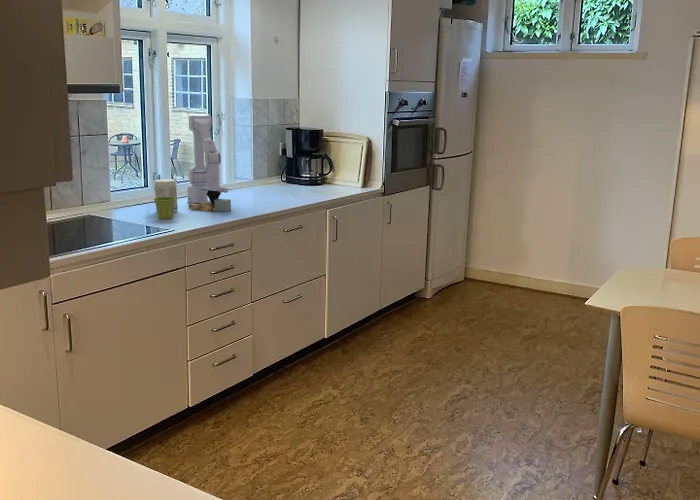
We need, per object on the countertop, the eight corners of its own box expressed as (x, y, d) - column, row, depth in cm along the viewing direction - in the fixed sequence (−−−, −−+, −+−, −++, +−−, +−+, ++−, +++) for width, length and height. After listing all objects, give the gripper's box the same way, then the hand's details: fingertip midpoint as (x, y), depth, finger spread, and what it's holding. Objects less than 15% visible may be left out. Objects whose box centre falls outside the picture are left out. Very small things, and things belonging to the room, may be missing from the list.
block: (214, 210, 322) (214, 199, 321) (219, 209, 326) (219, 198, 325) (225, 211, 319) (225, 200, 318) (230, 210, 324) (230, 199, 322)
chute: (188, 209, 325) (188, 202, 324) (198, 206, 332) (198, 199, 331) (212, 211, 320) (212, 204, 319) (221, 208, 327) (221, 201, 327)
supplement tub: (175, 209, 324) (173, 178, 321) (179, 212, 316) (178, 180, 312) (154, 211, 320) (152, 179, 316) (158, 214, 311) (156, 181, 308)
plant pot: (165, 220, 296) (164, 200, 294) (149, 218, 301) (148, 198, 299) (181, 217, 304) (180, 198, 302) (166, 215, 309) (165, 196, 307)
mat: (212, 211, 321) (212, 210, 321) (219, 209, 327) (219, 208, 327) (223, 212, 319) (223, 211, 319) (230, 210, 325) (230, 209, 325)
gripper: (195, 178, 320) (196, 207, 323) (221, 180, 315) (222, 209, 318) (203, 176, 326) (204, 204, 329) (230, 178, 321) (230, 207, 324)
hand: (214, 207), depth 324 cm, fingers closed
